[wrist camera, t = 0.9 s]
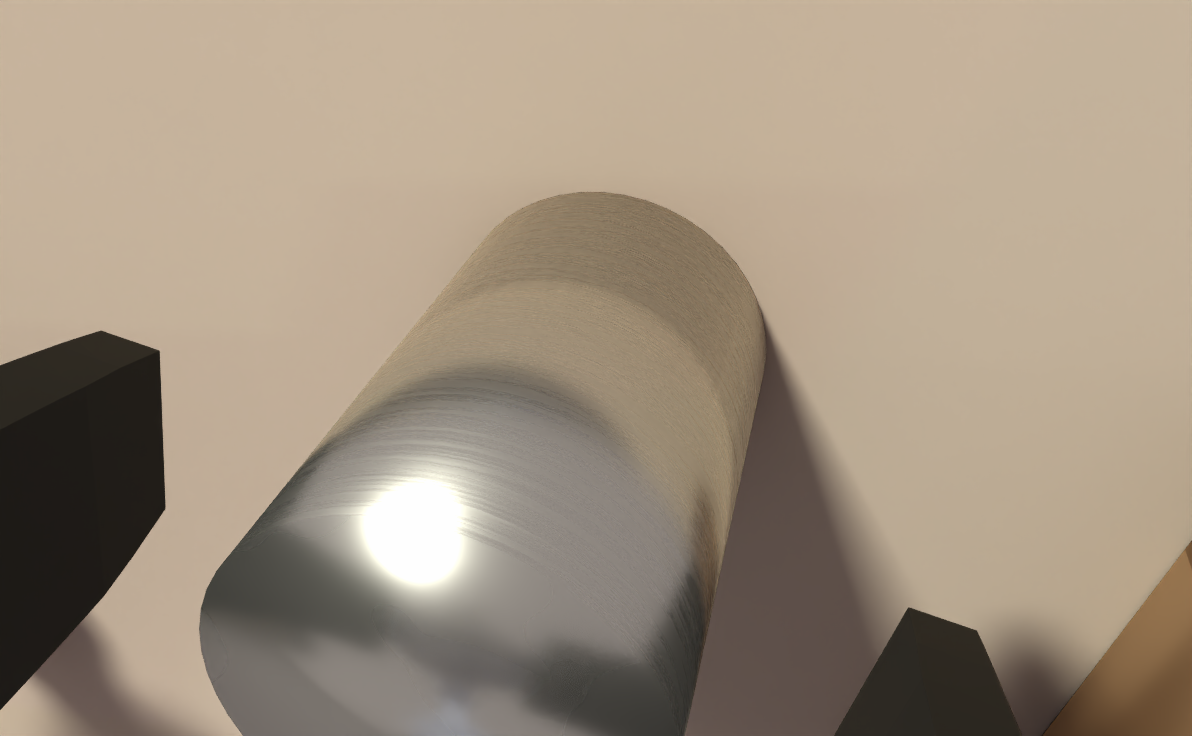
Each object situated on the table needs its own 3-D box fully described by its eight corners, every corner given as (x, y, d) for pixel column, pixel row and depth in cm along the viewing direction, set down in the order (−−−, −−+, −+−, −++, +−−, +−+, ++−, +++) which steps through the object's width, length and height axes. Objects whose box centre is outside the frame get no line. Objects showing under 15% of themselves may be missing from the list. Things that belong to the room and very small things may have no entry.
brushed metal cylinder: (714, 505, 14) (611, 927, 9) (440, 411, 14) (201, 770, 10) (811, 251, 12) (744, 634, 7) (484, 149, 12) (197, 443, 7)
